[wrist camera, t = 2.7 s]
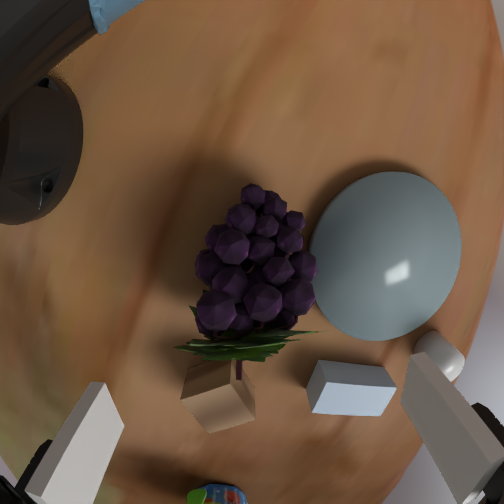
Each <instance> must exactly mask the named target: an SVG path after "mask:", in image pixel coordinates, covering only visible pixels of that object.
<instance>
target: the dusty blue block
mask: <svg viewBox="0 0 504 504" xmlns="http://www.w3.org/2000/svg"><path fill="white" fill-rule="evenodd" d="M396 389H397V386H396V385H395V383H394V382H393V380H392V378H391V377H390V375H389V374H388V372H387V371H386V369H385V368H384V367H378V366H368V365H359V364H350V363H342V362H334V361H327V360H320V359H318V362H317V364H316V366H315V369H314V371H313V373H312V376H311V378H310V380H309V383H308V385H307V387H306V392H307V396H308V400H309V404H310V407H311V411H312V413H322V414H337V415H359V416H381V414H382V412H383V411H384V409H385V408H386V406H387V404H388V403H389V401H390V399H391V398H392V396H393V394H394V392H395V391H396Z"/></svg>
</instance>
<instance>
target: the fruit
mask: <svg viewBox="0 0 504 504" xmlns="http://www.w3.org/2000/svg"><path fill="white" fill-rule="evenodd" d="M241 202H242V203H241V204H236V205H235V206H233V207H232V208H230V209H228V212H227V215H226V218H225V222H226V224H220V225H213V226H212V227H211V229H210V230H209V232H208V233H207V235H206V236H205V240H206V244H207V247H208V249H207V250H202V251H200V252H199V254H198V255H197V258H196V262H195V267H196V276H197V277H198V278H199V279H201V280H202V281H203V282H204V283H205V284H206V285H208V286H210V291H206V290H203V295H202V296H201V298H200V299H199V301H197V302H198V303H197V304H196V307H197V308H195V307H192V306H189V307H190V308H191V310H192V312H193V313H194V315H195V321H196V324H197V327H198V330H199V332H200V333H202V334H204V336H205V337H206V338H208V339H210V340H198V339H191V340H190V341H191V342H187V344H189V345H182V346H176V347H174V348H176V349H180V350H184V351H189V352H192V353H195V354H193V355H203V356H205V357H204V358H203V359H201V360H221V361H225V360H231V359H233V360H236V367H235V369H236V380H240V381H241V380H242V361H244V360H249V361H258V362H264V361H265V358H266V357H269V356H272V355H271V354H269V353H274V354H278V351H277V350H280V349H281V348H283V347H284V346H285V345H286V344H282V343H287V341H298V340H300V339H297V340H290V339H285V338H287V337H289V336H293V335H297V334H309V333H316V331H292V330H290V329H291V328H293V326H294V325H295V324H296V323H297V322H298V316H299V315H304V314H306V313H307V312H308V311H309V309H310V308H311V306H312V305H313V303H314V302H315V300H316V297H315V293H314V289H313V285H312V283H310V282H311V281H312V280H313V278H314V277H315V276H316V274H317V273H318V268H317V261H316V257H315V256H314V255H312V254H311V253H310V252H308V251H307V250H301V248H302V246H303V236H302V235H301V234H300V231H301V230H302V229H303V227H304V226H305V225H306V223H305V220H304V216H303V213H301V212H296V211H292V210H291V211H289V212H286V210H287V202H285V201H283V200H282V199H281V198H280V196H279V195H278V194H277V193H275V192H273V191H267V190H263V189H262V188H261V187H260V186H258V185H255V184H251V183H250V184H249V185H247V186H245V187H243V188H242V191H241ZM260 213H261V214H262V215H263V216H261V214H260ZM254 231H255V232H254ZM253 232H254V233H253ZM292 252H293V253H292ZM291 253H292V254H291ZM290 254H291V255H290ZM230 264H233V265H232V266H231V265H230ZM265 264H266V265H265ZM259 265H260V266H259ZM322 332H325V331H322ZM301 340H303V339H301Z"/></svg>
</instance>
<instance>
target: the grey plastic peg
mask: <svg viewBox="0 0 504 504" xmlns="http://www.w3.org/2000/svg"><path fill="white" fill-rule="evenodd" d="M421 352H425V353H426V354H427V355H428V356H429V358H430V359H431V360H432V361H433V362H434V363H435V364H436V365H437V367H438V368H439V369H440V370H441V371H442V372H443V374H444V375H445V376H446V377H447V378H448V379H449V381H450V382H451V381H453V380H454V379H455V378H456V377H457V376H458V375H459V373H460V372H461V370H462V368H463V366H464V361H465V359H464V356H463V355H462V354H461V353H460V352H459V351H458V350H457V349H456V348H455V347H454V346H453V345H452V344H451V343H450V342H449V341H448V340H447V339H446V338H445V337H444V336H443V335H441V334H440V333H439V332H438V331H430V332H427V333H425V334H424V335H423V336H422V337H421V338H420V339H419V340H418V341H417V343H416V345H415V347H414V351H413V354H417V353H421Z"/></svg>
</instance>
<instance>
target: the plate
mask: <svg viewBox="0 0 504 504" xmlns="http://www.w3.org/2000/svg"><path fill="white" fill-rule="evenodd" d="M461 246H462V242H461V232H460V227H459V223H458V220H457V217H456V214H455V212H454V210H453V208H452V205H451V204H450V202H449V201H448V199H447V198H446V196H445V195H444V194H443V193H442V192H441V191H440V190H439V189H438V188H437V187H436V186H435V185H434V184H432V183H431V182H429V181H428V180H426V179H424V178H422V177H420V176H417V175H415V174H410V173H406V172H394V171H386V172H377V173H373V174H369V175H366V176H364V177H362V178H359V179H357V180H355V181H354V182H352V183H350V184H349V185H347V186H346V187H345V188H344V189H342V190H341V191H340V192H339V193H338V194H337V195H336V196H335V197H334V198H333V199H332V200H331V201H330V202H329V204H328V205H327V206H326V208H325V209H324V210H323V212H322V214H321V215H320V217H319V219H318V221H317V223H316V225H315V228H314V230H313V233H312V236H311V240H310V243H309V249H308V252H310V253H311V254H312V255H314V256H315V257H316V261H317V268H318V273H317V274H316V276H315V277H314V278H313V280H312V281H311V282H310V283H312V285H313V289H314V293H315V297H316V300H315V301H316V302H317V304H318V306H319V308H320V310H321V311H322V313H323V314H324V316H325V317H326V318H327V319H328V321H329V322H330V323H331V324H333V325H334V326H335V327H336V328H337V329H339V330H340V331H342V332H343V333H345V334H347V335H349V336H352V337H354V338H358V339H361V340H369V341H382V340H389V339H393V338H397V337H400V336H402V335H405V334H407V333H409V332H411V331H413V330H414V329H416V328H418V327H419V326H421V325H422V324H423V323H425V322H426V321H427V320H428V319H429V318H430V317H431V316H432V315H433V314H434V313H435V312H436V311H437V310H438V309H439V308H440V306H441V305H442V304H443V302H444V301H445V299H446V298H447V296H448V294H449V293H450V291H451V289H452V286H453V284H454V282H455V279H456V276H457V273H458V269H459V265H460V259H461Z"/></svg>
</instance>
